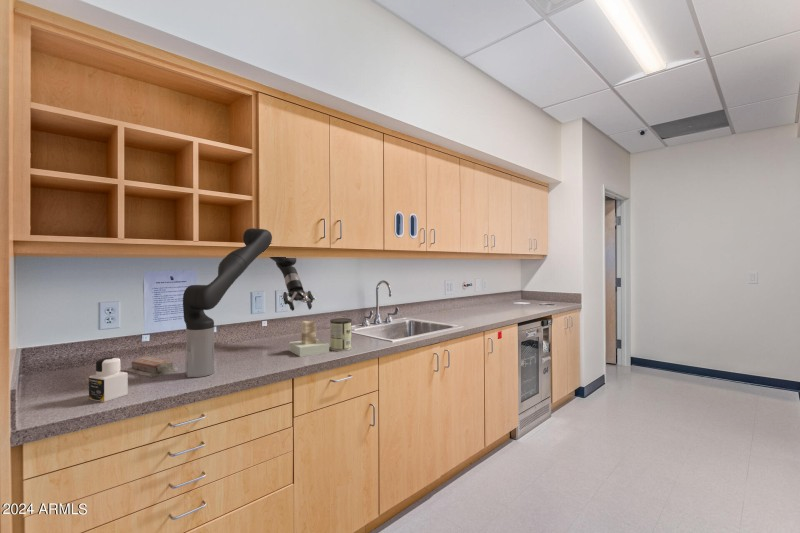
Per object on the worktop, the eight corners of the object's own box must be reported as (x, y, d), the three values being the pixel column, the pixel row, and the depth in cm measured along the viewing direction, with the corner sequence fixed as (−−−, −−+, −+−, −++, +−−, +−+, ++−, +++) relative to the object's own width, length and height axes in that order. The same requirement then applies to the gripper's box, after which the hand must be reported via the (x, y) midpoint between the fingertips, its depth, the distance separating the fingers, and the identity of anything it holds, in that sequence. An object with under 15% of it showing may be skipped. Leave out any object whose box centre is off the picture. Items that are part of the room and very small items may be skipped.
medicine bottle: (88, 399, 117) (88, 360, 117) (113, 392, 123) (112, 354, 123) (103, 402, 114) (103, 362, 114) (128, 394, 121) (128, 356, 121)
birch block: (305, 344, 176) (305, 322, 176) (301, 342, 180) (301, 321, 180) (315, 343, 179) (315, 321, 179) (311, 341, 183) (311, 320, 183)
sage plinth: (300, 356, 170) (300, 347, 170) (289, 350, 181) (289, 342, 181) (329, 352, 178) (329, 343, 178) (317, 346, 189) (317, 338, 189)
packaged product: (178, 359, 148) (151, 365, 139) (178, 371, 148) (151, 378, 139) (151, 353, 156) (124, 359, 147) (151, 365, 156) (124, 371, 147)
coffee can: (334, 345, 192) (334, 317, 192) (354, 346, 190) (354, 318, 190) (326, 350, 182) (327, 320, 181) (347, 351, 180) (347, 321, 180)
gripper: (281, 279, 190) (289, 305, 181) (308, 278, 198) (317, 303, 189) (278, 289, 194) (285, 315, 185) (305, 288, 203) (313, 312, 194)
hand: (301, 309), depth 187 cm, fingers open, 8 cm apart
